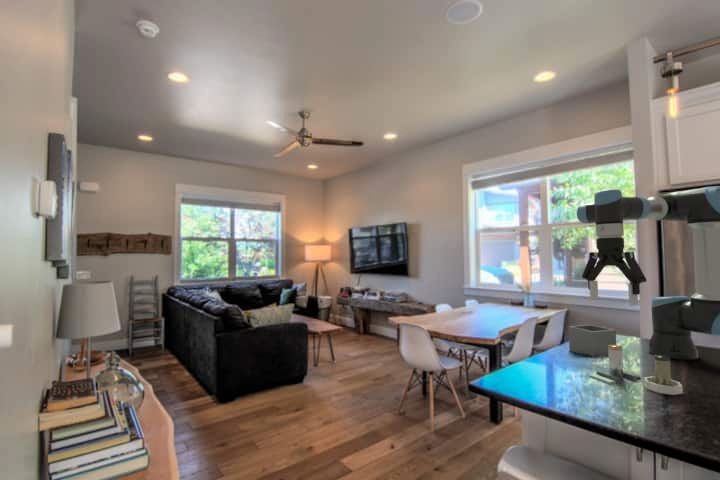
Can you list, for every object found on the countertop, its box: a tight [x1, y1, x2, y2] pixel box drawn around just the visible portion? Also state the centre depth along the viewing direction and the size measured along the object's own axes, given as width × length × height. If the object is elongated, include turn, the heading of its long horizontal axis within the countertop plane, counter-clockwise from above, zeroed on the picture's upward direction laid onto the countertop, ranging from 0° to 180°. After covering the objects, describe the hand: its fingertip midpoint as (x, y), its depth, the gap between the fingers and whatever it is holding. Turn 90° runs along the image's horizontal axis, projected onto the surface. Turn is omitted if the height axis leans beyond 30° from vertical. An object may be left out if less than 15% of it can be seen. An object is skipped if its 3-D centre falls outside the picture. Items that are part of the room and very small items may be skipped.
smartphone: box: [574, 351, 600, 358], centre depth 149 cm, size 8×15×1 cm, turn 130°
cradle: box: [585, 370, 644, 387], centre depth 115 cm, size 14×10×3 cm
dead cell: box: [653, 354, 672, 386], centre depth 106 cm, size 4×4×10 cm
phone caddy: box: [568, 324, 617, 358], centre depth 149 cm, size 12×12×10 cm
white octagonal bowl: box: [643, 375, 684, 396], centre depth 105 cm, size 8×8×4 cm
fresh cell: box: [608, 344, 624, 380], centre depth 115 cm, size 4×4×10 cm
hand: (612, 302), depth 118 cm, fingers open, 13 cm apart
